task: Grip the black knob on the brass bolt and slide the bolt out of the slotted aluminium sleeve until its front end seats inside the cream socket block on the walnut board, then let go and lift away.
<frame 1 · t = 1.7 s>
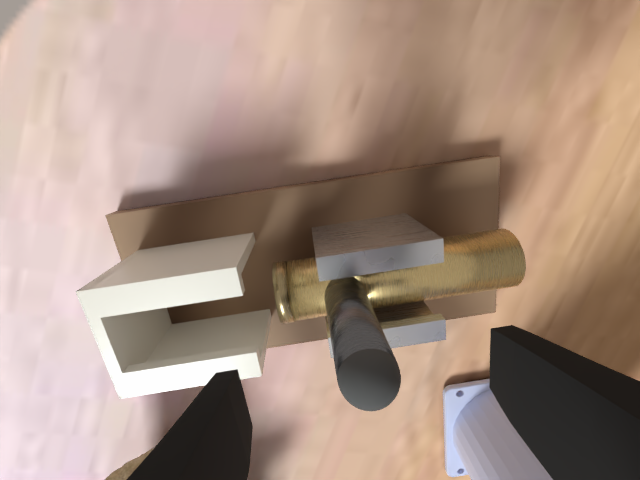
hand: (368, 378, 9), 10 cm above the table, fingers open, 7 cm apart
socket block: (212, 277, 18), resting on guide board
guide board: (316, 261, 18), on the table
brass bolt: (413, 304, 12), point 6 cm above the table, slide at 0.0 cm
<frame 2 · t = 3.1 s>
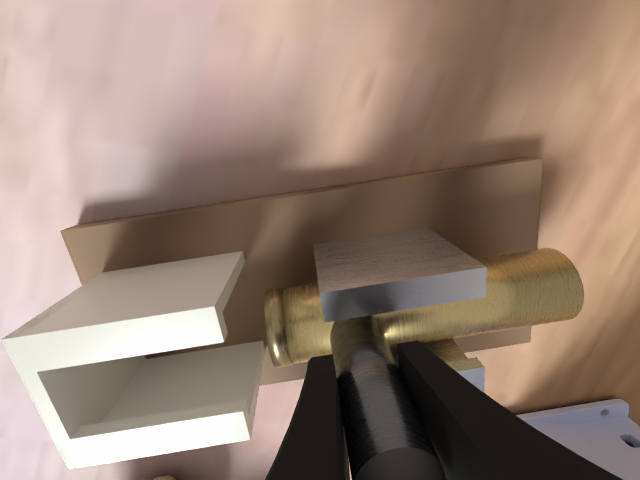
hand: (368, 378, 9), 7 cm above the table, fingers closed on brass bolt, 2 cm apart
socket block: (195, 302, 15), resting on guide board
guide board: (319, 283, 15), on the table
brass bolt: (446, 352, 10), point 6 cm above the table, slide at 0.0 cm, touching gripper
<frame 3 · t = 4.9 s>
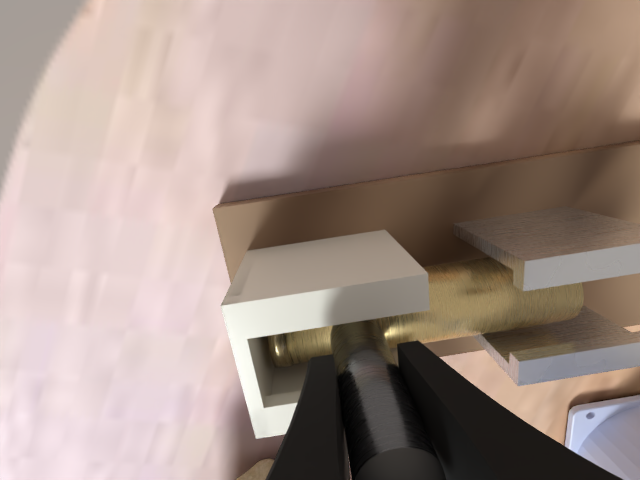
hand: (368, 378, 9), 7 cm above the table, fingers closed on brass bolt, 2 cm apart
socket block: (322, 282, 15), resting on guide board
guide board: (444, 263, 16), on the table
brass bolt: (446, 352, 10), point 6 cm above the table, slide at 6.2 cm, touching gripper
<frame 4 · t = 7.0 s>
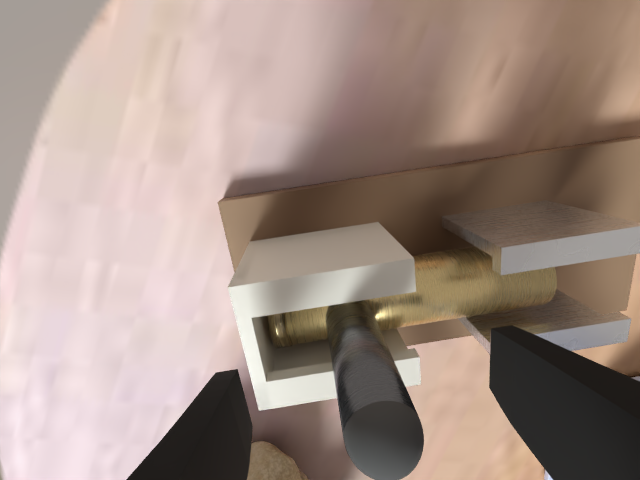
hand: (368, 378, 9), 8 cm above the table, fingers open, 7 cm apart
socket block: (320, 272, 16), resting on guide board
guide board: (434, 254, 17), on the table
brass bolt: (430, 330, 11), point 6 cm above the table, slide at 6.2 cm
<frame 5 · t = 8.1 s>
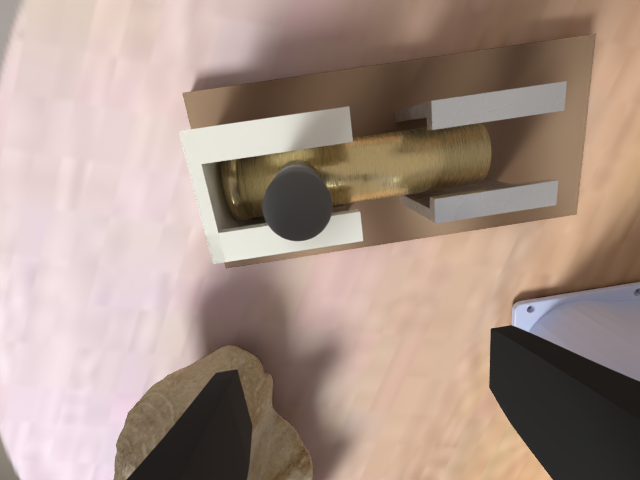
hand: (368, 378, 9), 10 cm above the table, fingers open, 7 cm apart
socket block: (284, 174, 17), resting on guide board
guide board: (392, 158, 18), on the table
sculpture: (250, 434, 23), on the table
brass bolt: (366, 177, 12), point 6 cm above the table, slide at 6.2 cm
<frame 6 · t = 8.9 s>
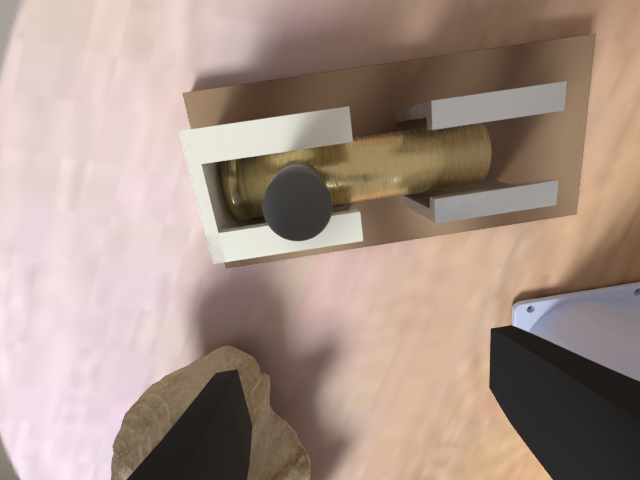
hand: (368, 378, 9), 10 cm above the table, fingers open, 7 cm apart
socket block: (284, 174, 17), resting on guide board
guide board: (392, 158, 18), on the table
sculpture: (249, 434, 23), on the table
brass bolt: (366, 177, 12), point 6 cm above the table, slide at 6.2 cm
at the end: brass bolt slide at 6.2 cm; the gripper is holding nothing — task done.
